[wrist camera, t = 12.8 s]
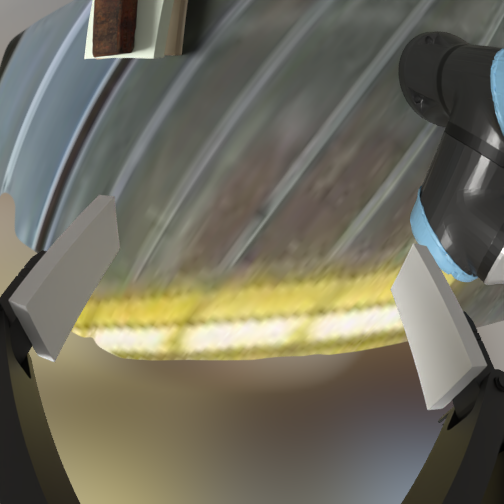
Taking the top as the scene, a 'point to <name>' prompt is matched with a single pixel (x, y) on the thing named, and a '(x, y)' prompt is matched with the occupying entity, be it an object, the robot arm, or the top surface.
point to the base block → (175, 28)
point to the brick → (114, 27)
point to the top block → (142, 30)
